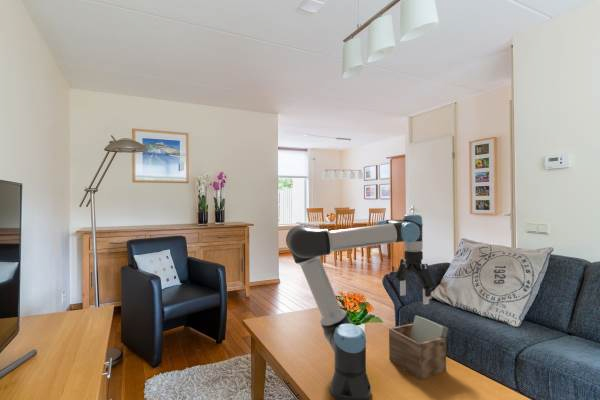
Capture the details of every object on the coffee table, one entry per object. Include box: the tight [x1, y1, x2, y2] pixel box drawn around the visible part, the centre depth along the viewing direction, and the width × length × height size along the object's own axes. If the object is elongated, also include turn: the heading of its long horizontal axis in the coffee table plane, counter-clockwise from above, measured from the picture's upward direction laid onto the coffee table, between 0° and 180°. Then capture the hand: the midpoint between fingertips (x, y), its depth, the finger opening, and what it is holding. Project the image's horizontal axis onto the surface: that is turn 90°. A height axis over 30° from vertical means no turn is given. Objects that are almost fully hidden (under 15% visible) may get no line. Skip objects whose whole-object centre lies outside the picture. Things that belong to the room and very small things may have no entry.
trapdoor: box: [410, 315, 449, 343], centre depth 143 cm, size 17×15×5 cm
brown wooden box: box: [388, 322, 447, 381], centre depth 140 cm, size 15×19×14 cm
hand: (414, 299), depth 140 cm, fingers open, 13 cm apart
